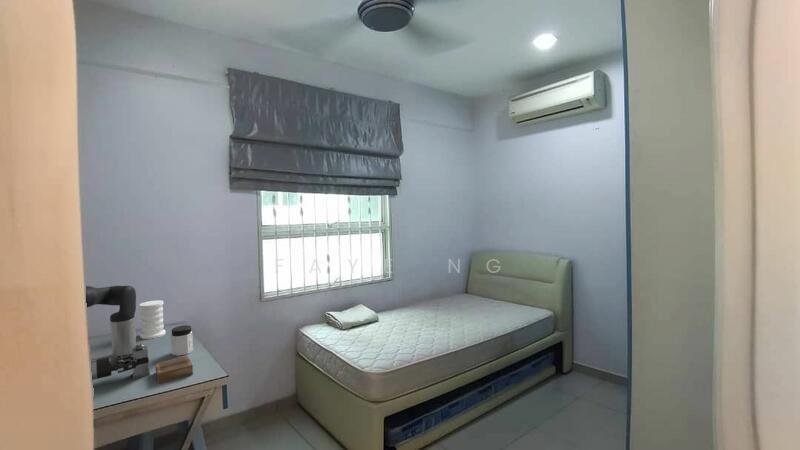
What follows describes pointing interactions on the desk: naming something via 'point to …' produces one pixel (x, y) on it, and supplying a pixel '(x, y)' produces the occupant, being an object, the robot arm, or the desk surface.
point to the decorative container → (152, 319)
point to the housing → (139, 353)
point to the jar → (181, 340)
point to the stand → (173, 369)
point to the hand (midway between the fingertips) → (147, 357)
